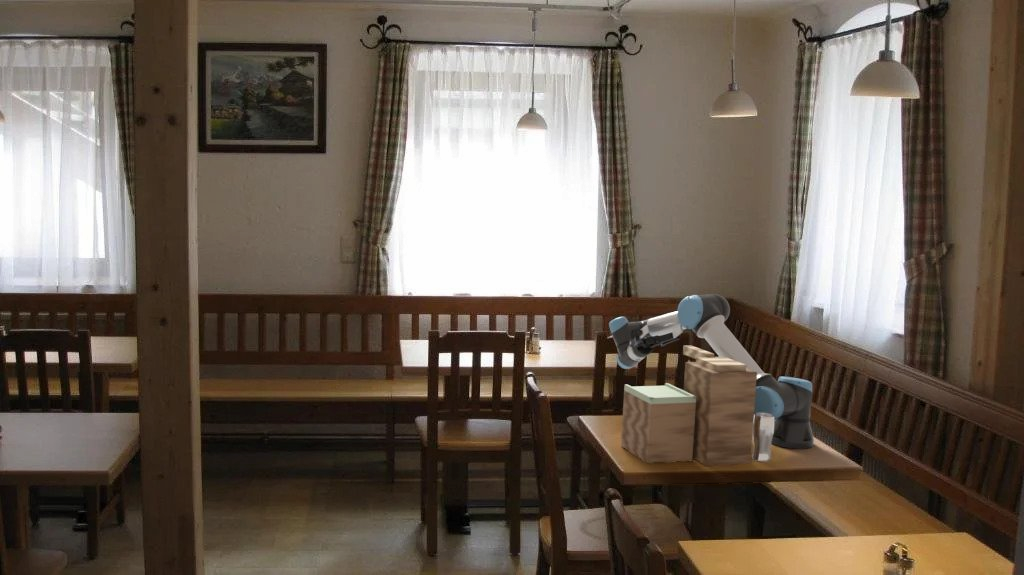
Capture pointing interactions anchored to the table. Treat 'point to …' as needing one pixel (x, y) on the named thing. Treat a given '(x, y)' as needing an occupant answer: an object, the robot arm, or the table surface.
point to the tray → (660, 394)
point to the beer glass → (762, 436)
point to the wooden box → (658, 429)
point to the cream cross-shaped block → (713, 360)
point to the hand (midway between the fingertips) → (664, 328)
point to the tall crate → (722, 414)
